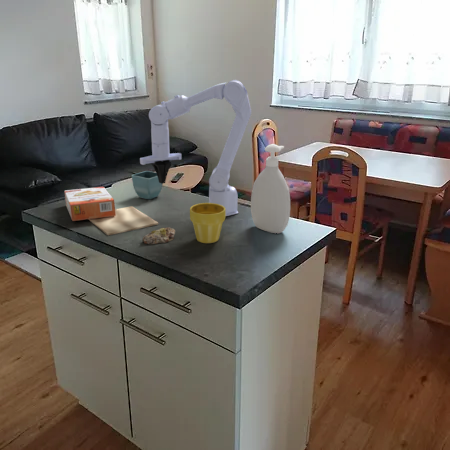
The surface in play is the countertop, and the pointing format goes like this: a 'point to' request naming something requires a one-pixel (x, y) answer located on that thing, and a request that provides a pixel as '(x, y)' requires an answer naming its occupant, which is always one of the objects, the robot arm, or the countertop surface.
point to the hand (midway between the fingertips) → (162, 182)
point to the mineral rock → (159, 236)
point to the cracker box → (89, 203)
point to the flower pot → (146, 184)
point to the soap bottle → (271, 196)
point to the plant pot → (207, 221)
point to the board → (123, 221)
